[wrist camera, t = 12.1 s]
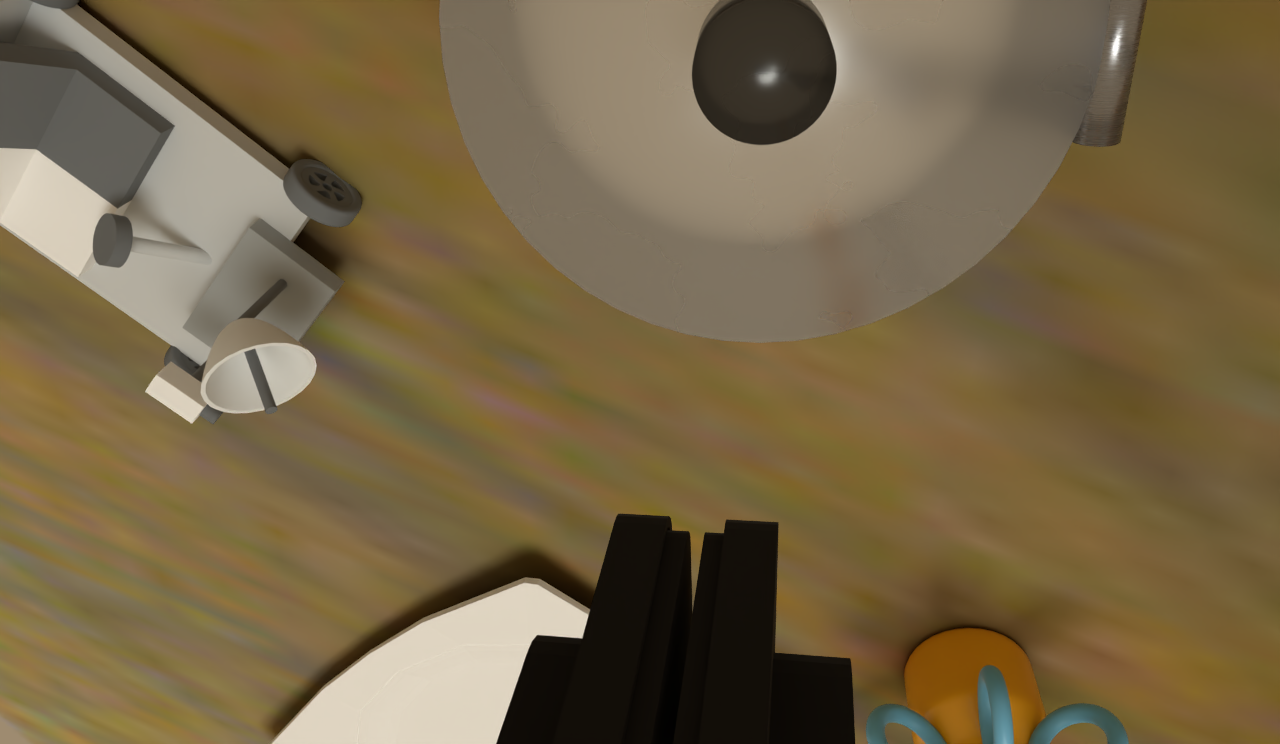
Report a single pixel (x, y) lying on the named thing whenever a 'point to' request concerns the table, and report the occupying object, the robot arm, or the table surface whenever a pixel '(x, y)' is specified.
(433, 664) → the plate
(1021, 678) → the orange blue upright piece
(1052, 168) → the lid
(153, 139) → the toy car
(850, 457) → the table surface
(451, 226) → the table surface
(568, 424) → the table surface
